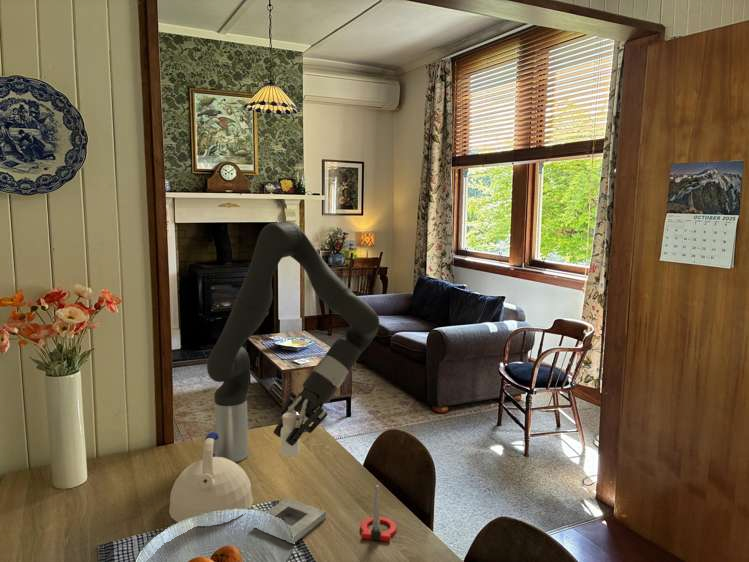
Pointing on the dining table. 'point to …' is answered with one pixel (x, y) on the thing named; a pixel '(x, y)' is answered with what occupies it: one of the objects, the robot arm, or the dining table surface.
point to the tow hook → (377, 524)
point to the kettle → (209, 485)
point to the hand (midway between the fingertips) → (282, 439)
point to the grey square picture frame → (298, 516)
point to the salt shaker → (287, 428)
